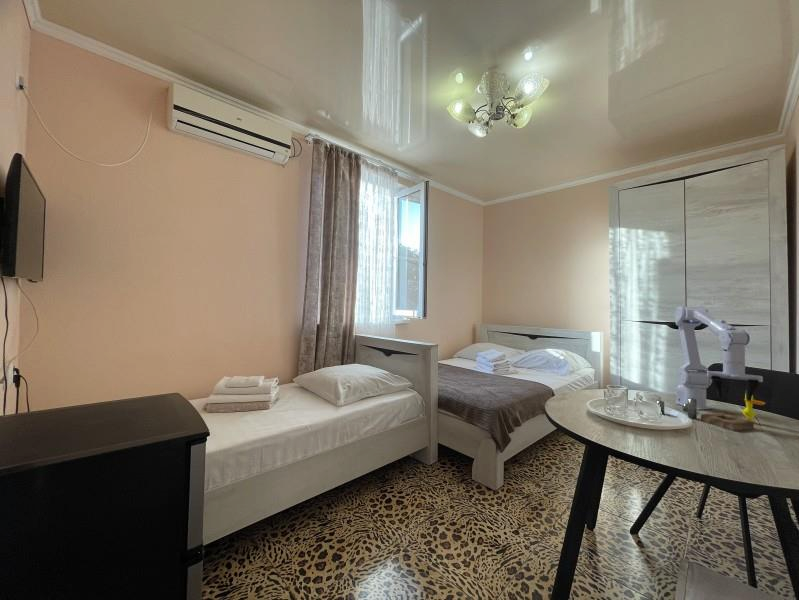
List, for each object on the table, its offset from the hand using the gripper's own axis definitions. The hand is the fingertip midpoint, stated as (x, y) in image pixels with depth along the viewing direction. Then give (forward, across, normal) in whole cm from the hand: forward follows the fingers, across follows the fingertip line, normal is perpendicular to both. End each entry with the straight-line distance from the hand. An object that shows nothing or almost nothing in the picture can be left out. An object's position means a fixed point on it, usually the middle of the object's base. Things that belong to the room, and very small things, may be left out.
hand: (733, 398), depth 121 cm
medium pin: (+10, -22, -1) cm, 24 cm away
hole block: (+10, -2, -2) cm, 10 cm away
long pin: (+10, -12, 0) cm, 15 cm away
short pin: (+10, -12, +9) cm, 18 cm away
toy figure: (+10, +6, +6) cm, 13 cm away
